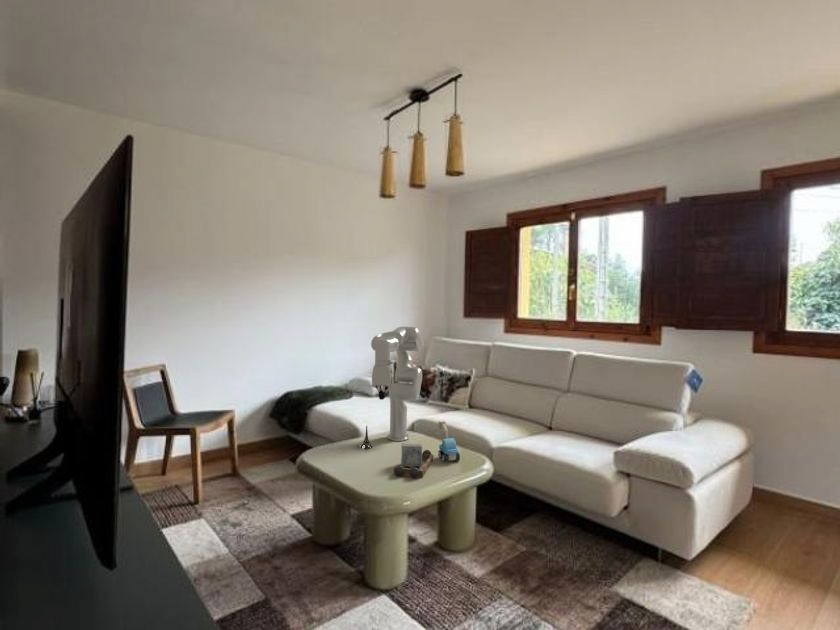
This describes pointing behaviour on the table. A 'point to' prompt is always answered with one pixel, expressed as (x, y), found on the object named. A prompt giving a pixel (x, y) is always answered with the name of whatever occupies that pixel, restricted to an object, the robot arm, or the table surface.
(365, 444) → the eiffel tower figurine
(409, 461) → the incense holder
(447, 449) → the toy excavator
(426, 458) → the chassis bay
